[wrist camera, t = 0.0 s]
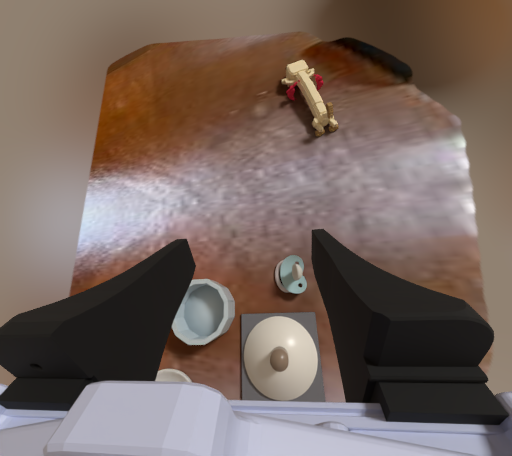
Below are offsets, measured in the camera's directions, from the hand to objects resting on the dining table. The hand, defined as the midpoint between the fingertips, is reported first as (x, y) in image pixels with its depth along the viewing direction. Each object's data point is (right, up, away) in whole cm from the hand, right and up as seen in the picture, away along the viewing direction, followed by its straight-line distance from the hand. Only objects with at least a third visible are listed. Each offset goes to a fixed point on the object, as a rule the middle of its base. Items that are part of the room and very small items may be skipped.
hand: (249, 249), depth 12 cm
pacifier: (+7, -9, +31) cm, 33 cm away
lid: (+5, -22, +26) cm, 34 cm away
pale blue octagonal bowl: (-9, -15, +30) cm, 35 cm away
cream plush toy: (+15, +36, +46) cm, 60 cm away
